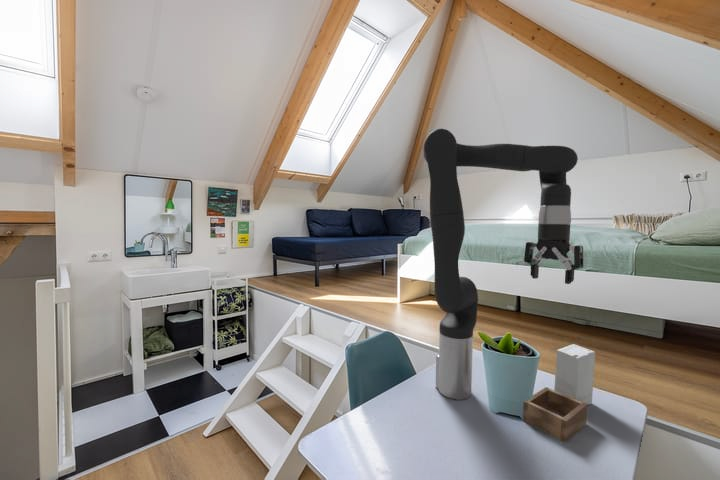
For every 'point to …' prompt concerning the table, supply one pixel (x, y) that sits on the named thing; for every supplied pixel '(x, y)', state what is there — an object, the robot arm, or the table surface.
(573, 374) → the skincare box
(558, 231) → the robot arm
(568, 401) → the box
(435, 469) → the table surface
